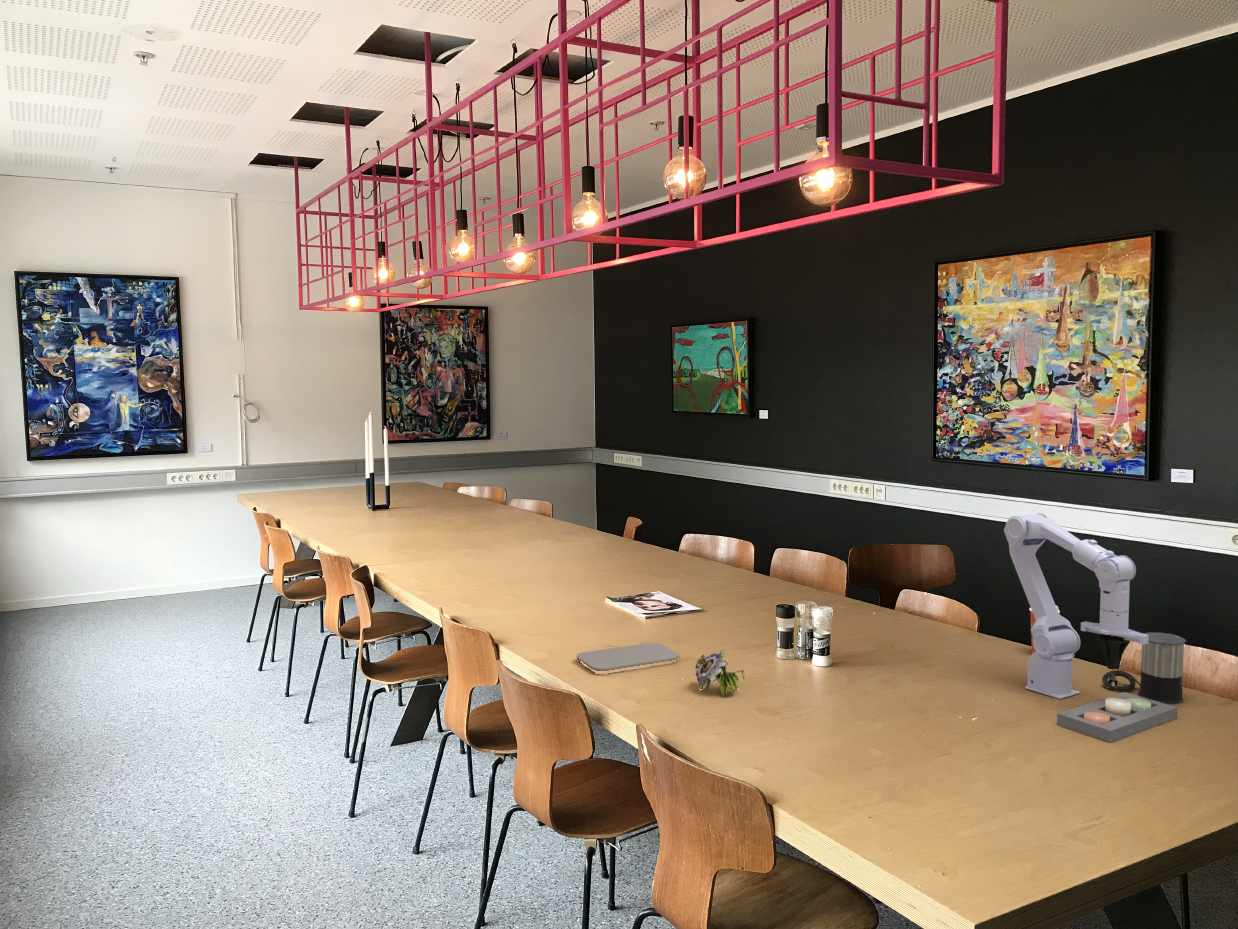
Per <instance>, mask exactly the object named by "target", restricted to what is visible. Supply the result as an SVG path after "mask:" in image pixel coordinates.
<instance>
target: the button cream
mask: <svg viewBox="0 0 1238 929" xmlns="http://www.w3.org/2000/svg"><path fill="white" fill-rule="evenodd" d="M1106 698H1107V699H1106V700H1105V711H1106V712H1109V713H1112V714H1115V715H1119V716H1122V717H1125V716H1128V715H1131V702H1129V701H1127V700H1124V699H1120V698H1108V697H1106Z"/></svg>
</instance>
